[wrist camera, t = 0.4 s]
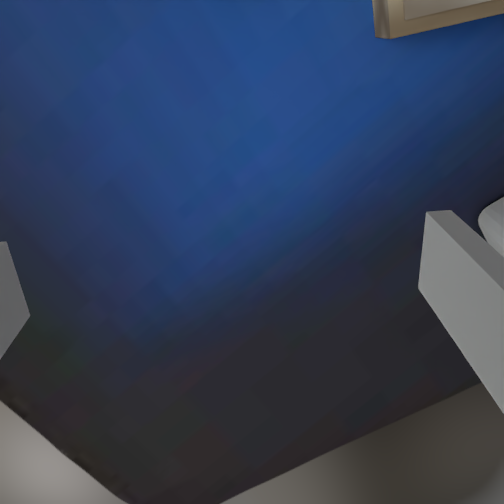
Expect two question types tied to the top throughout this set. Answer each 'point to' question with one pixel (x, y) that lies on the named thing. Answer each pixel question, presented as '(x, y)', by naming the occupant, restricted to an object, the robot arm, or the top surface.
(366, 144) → the top surface
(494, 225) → the cup
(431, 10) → the plinth
